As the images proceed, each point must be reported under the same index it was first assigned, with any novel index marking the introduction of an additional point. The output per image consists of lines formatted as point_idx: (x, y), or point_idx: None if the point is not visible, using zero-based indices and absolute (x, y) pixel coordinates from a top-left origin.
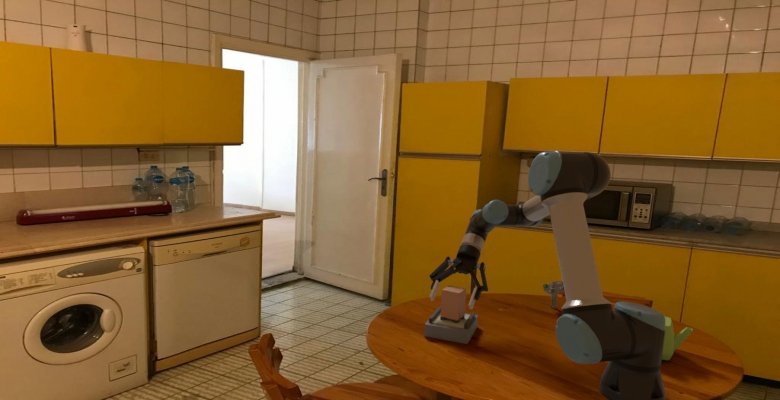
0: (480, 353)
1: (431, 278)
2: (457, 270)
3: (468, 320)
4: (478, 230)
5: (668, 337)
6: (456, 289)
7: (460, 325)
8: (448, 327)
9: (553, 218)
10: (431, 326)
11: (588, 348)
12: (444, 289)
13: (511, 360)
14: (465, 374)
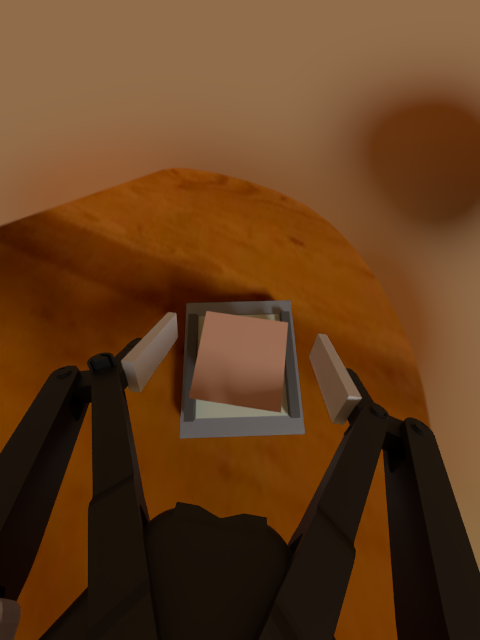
0: (164, 283)
1: (399, 420)
2: (263, 521)
3: (190, 342)
4: None
5: None
6: (230, 360)
7: None
8: (234, 306)
9: None
10: (273, 301)
11: None
12: (279, 330)
13: (108, 280)
14: (177, 207)
